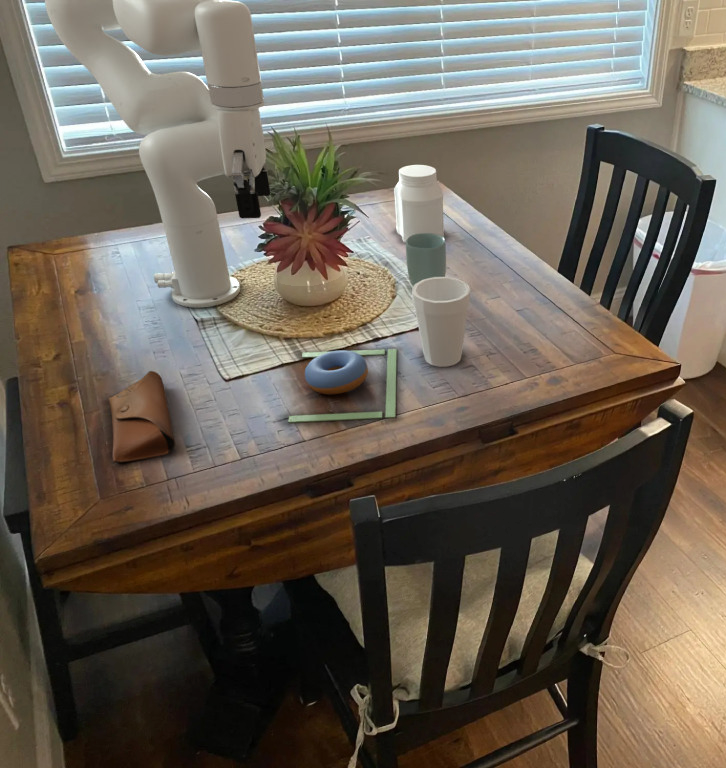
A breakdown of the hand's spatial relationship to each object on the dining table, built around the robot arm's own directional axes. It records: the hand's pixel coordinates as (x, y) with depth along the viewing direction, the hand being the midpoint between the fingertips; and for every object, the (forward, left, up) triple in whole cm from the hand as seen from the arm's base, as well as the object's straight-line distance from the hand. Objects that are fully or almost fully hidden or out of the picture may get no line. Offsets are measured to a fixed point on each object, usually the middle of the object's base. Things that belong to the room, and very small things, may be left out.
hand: (255, 206), depth 121 cm
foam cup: (+29, -9, -24) cm, 39 cm away
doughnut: (+12, -16, -24) cm, 31 cm away
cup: (+27, +18, -24) cm, 41 cm away
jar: (+26, +45, -24) cm, 57 cm away
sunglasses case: (-16, -25, -24) cm, 38 cm away
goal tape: (+12, -16, -24) cm, 31 cm away
